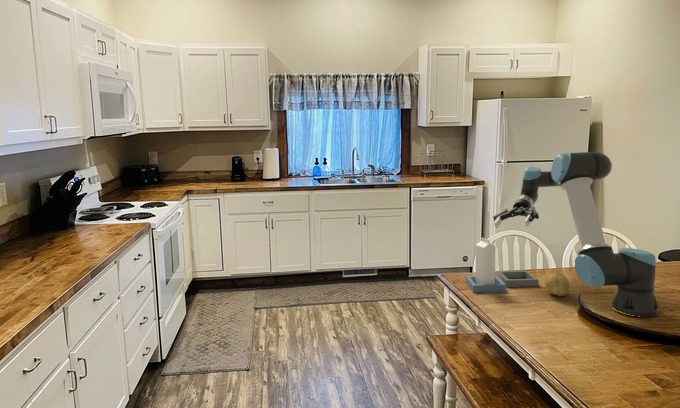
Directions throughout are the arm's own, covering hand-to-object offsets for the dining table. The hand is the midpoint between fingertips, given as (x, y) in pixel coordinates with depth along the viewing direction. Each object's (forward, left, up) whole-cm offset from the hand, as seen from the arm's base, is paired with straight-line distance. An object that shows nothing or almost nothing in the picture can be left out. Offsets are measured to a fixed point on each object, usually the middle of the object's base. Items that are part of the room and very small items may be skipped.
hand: (510, 224), depth 213 cm
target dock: (-5, +12, -27) cm, 30 cm away
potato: (-17, -15, -27) cm, 35 cm away
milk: (-5, +12, -27) cm, 30 cm away
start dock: (+1, -4, -27) cm, 27 cm away
